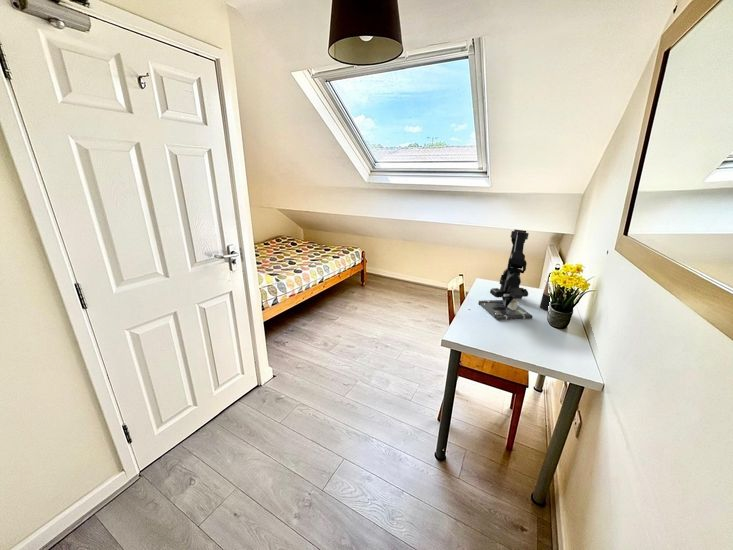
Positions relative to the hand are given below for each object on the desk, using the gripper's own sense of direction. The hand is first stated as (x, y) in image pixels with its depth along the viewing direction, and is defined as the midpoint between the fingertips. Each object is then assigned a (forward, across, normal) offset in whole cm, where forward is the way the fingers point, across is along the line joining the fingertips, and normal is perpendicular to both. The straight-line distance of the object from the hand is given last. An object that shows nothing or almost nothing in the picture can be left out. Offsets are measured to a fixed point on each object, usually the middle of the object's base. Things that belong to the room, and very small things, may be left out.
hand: (505, 306), depth 159 cm
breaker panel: (+2, 0, 0) cm, 2 cm away
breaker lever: (+1, +3, 0) cm, 3 cm away
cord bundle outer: (+2, 0, -8) cm, 9 cm away
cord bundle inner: (+2, 0, +8) cm, 9 cm away
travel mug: (+3, +27, +1) cm, 27 cm away
